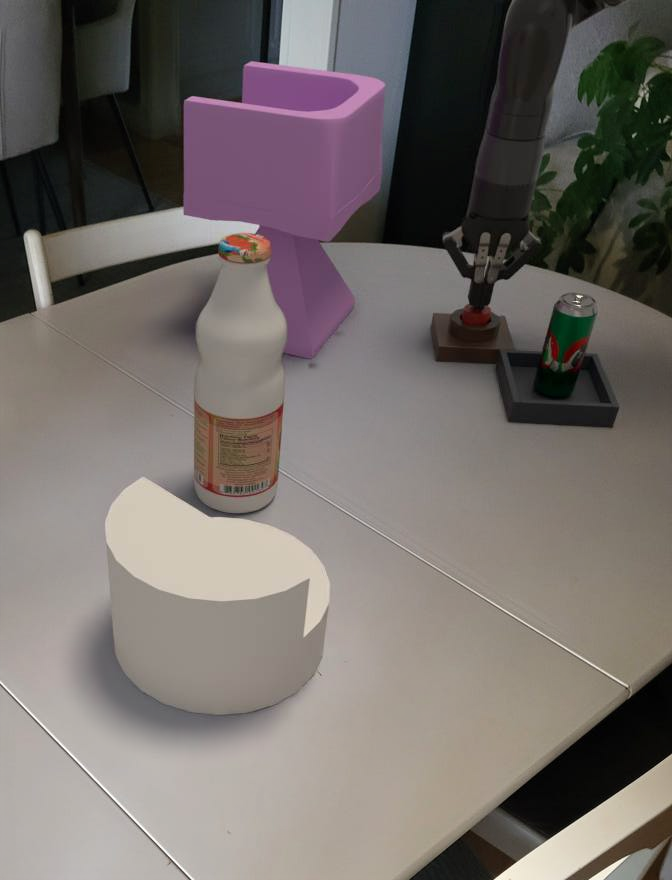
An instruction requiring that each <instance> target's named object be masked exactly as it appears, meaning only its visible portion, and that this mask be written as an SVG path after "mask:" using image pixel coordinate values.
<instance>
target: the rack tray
mask: <svg viewBox="0 0 672 880" xmlns="http://www.w3.org/2000/svg"><path fill="white" fill-rule="evenodd" d="M541 352H542V350H528V349H527V350H525V349H515V350H507V349H500V350H499V354H498V359H497V363H496V364H495V367H494V368H495V373H496V376H497V380H498V385H499V388H500V392H501V396H502V399H503V404H504V409H505V412H506V415H507V420H508V422H509V423H510V422H511V423H529V424H530V423H531V424H548V425H549V424H550V425H551V424H552V425H570V426H584V427H585V426H588V427H605V428H607V427H608V428H613V427H614V425H615V424H614V423H615V422H616V419H617V416H618V413H619V410H620V405H619V402H618V400H617V397H616V395H615V392H614V390H613V387H612V385H611V383H610V381H609V378H608V376H607V374H606V371H605V368H604V366H603V364H602V361H601V359H600V356H599V354H598V353H591V352H590V353H589V352H585V355H584V359H583V362H582V365H581V368H580V372H579V375H578V378H577V382H576V385H575V388H574V391H573V392H572V393H571V394H569V395H568V396H566V397H563V398H551V397H546V396H544V395H542V394H540V393H538V392H537V390H536V389H535V387H534V385H533V382H534V378H535V374H536V371H537V367H538V363H539V360H540V356H541Z"/></svg>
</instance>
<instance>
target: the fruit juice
mask: <svg viewBox="0 0 672 880" xmlns="http://www.w3.org/2000/svg"><path fill="white" fill-rule="evenodd" d="M217 251H218V252H217V255H218V260H219V262H220V264H221V265H220V269H219V272H218V276H217V279H216V282H215V285H214V287H213V289H212V293H211V295H210V297H209V298H208V301H207V302H206V304H205V306H203V309H202V310H201V311H200V313H199V315H198V318H197V320H198V321H197V320H196V322H197V326H196V325H195V340H196V345H197V350H198V352H199V361H198V363H197V365H196V369H195V374H194V385H193V404H194V405H193V485H194V491H195V494H196V496H197V498H198V499H199V501H201V503H203V504H204V505H205V506H207V507H209V508H211V509H213V510H216V511H219V512H222V513H227V514H228V513H229V514H247V513H251V512H255V511H258V510H260V509H262V508H265V507H266V506H267V505H269V504H270V503H271V502H272V501H273V499H274V498H275V495H276V493H277V489H278V485H279V472H280V471H279V470H280V458H281V457H280V456H281V443H282V431H283V430H282V429H283V417H284V416H283V415H284V405H285V404H284V403H285V393H286V379H285V378H286V377H285V376H286V375H285V370H284V366H283V364H282V356H283V354H284V353H283V351H284V348H285V345H286V341H287V323H286V319H285V316H284V314H283V312H282V311H281V309H280V307H279V306H278V305H277V303H276V302H275V299H274V296H273V293H272V290H271V286H270V282H269V278H268V273H267V264H268V262H269V260H270V255H271V244H270V241H269V240H268V239H267V238H265V237H263V236H261V235H258V234H255V233H251V232H237V233H231V234H228V235H225V236H223V237H222V238H221V239H220V240H219V243H218V249H217Z"/></svg>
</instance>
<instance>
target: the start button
mask: <svg viewBox="0 0 672 880" xmlns="http://www.w3.org/2000/svg"><path fill="white" fill-rule="evenodd" d="M463 308H464V310H463V315H462V321H463V322H465V323H468V324H471V325H481V326H482V325H486V324H488V323H489V318H490V314H491V312H492V309H491V307H490V306H489V305H488V306H485V307H484V310H473V309H472V305H469V303H467V304H466V305H464V307H463Z"/></svg>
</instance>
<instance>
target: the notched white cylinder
mask: <svg viewBox="0 0 672 880" xmlns="http://www.w3.org/2000/svg"><path fill="white" fill-rule="evenodd" d="M104 530H105V531H104V532H105V545H106V557H107V559H106V560H107V571H108V582H109V585H108V586H109V595H110V596H109V598H110V609H111V610H110V611H111V623H112V634H113V646H114V656H115V658H116V660H117V662H118V664H119V666H120V668H121V670H122V672H123V674H124V675H125V676H126V677H127V679H129V680H130V682H132V684H133V685H134V686H135V687H137V689H138V690H140V691H141V692H143V693H145V694H146V695H148V696H150V697H151V698H153V699H155V700H156V701H158V702H159V703H161V704H163V705H166V706H170V707H173V708H176V709H179V710H182V711H185V712H188V713H196V714H204V715H214V716H227V715H236V714H248V713H249V714H250V713H252V712H255V711H258V710H261V709H264V708H268V707H271V706H275V705H277V704H279V703H280V702H282V701H284V700H286V699H287V698H289V697H291V696H292V695H294V694H297V692H299V691H300V690H301V689H302V688H303V687H304V685H306V684H307V683H308V682H309V680H311V678H312V677H313V676H314V675H315V673H316V671H317V669H318V667H319V664H320V662H321V660H322V658H323V654H324V645H325V639H326V638H325V636H326V630H327V624H328V623H327V622H328V614H329V606H330V597H331V595H330V592H331V582H330V579H329V576H328V574H327V570H326V567H325V565H324V563H323V562H322V561H321V560H320V559H319V557H318V556H317V555H316V553H315V552H314V551H313V550H312V549H311V548H310V547H309V546H308V545H306V544H304V543H303V542H302V541H301V540H299V539H298V538H296V537H295V536H294V535H292V534H289V533H288V532H286V531H284V530H281V529H279V528H277V527H274V526H272V525H269V524H265V523H262V522H258V521H253V520H250V519H247V518H237V517H233V518H232V517H224V516H214V517H212V516H211V517H210V516H208V515H207V514H205V513H204V512H202V511H201V510H200V509H197V508H195V507H194V506H193V505H191V504H189V503H187V502H186V501H184V500H183V499H181V498H179V497H178V496H175V494H173V493H171V492H169V491H168V490H167V489H164V488H162V487H161V486H159V485H158V484H156V483H154V482H153V481H151V480H149V479H148V478H147V477H144V476H141V477H140V478H138V479H137V480H136V481H134V482H133V483H131V484H130V485H128V486H127V487H125V488H124V489H123V490H122V491H121V492H120V493H119V495H118V496H117V497H116V498H115V500H114V501H113V502H112V503H111V504H110V507H109V510H108V514H107V516H106V518H105V521H104Z"/></svg>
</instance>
